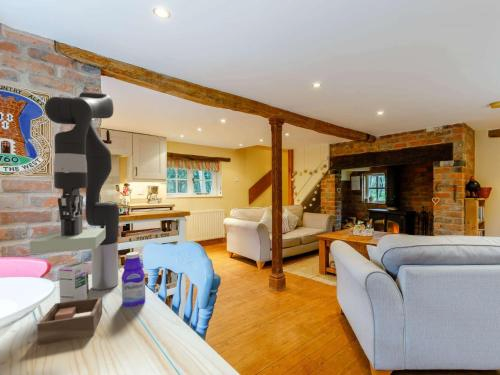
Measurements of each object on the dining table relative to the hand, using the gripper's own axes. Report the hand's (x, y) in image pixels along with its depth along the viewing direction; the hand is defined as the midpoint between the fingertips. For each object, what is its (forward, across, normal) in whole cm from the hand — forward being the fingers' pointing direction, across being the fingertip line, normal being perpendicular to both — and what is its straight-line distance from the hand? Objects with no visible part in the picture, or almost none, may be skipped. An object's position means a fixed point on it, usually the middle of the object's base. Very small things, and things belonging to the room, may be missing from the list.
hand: (72, 233), depth 72 cm
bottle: (+27, -11, +14) cm, 33 cm away
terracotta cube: (+26, -2, -3) cm, 27 cm away
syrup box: (+27, -15, -4) cm, 31 cm away
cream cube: (+26, +2, +2) cm, 27 cm away
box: (+27, 0, 0) cm, 27 cm away
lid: (+3, 0, 0) cm, 3 cm away
